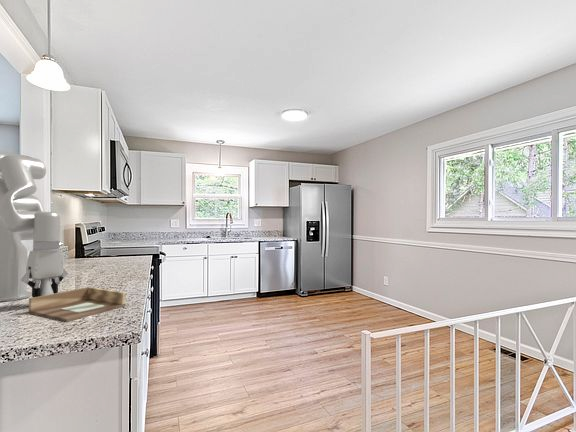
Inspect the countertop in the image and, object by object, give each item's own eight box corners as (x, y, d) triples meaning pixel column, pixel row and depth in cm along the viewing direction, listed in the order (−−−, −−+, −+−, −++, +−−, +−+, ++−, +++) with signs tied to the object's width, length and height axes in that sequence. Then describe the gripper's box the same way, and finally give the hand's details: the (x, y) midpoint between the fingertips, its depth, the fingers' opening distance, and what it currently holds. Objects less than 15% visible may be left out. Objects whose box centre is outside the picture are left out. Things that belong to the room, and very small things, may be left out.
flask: (43, 308, 108) (44, 279, 109) (26, 307, 110) (27, 278, 110) (62, 303, 116) (63, 275, 116) (46, 301, 117) (46, 274, 117)
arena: (28, 313, 103) (29, 298, 103) (88, 299, 121) (89, 286, 121) (67, 321, 95) (67, 305, 95) (125, 305, 113) (125, 292, 113)
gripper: (64, 244, 122) (63, 291, 122) (12, 247, 107) (10, 301, 107) (77, 245, 119) (76, 293, 119) (24, 248, 104) (23, 304, 104)
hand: (45, 296), depth 113 cm, fingers closed on flask, 4 cm apart
